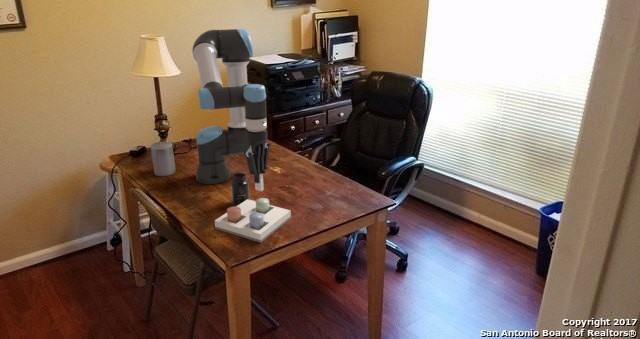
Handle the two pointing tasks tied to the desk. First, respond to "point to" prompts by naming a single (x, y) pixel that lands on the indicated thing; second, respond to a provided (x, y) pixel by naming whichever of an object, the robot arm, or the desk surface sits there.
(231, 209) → the terracotta button
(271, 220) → the console
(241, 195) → the supplement bottle
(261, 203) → the sage button
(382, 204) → the desk surface
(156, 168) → the pillar candle
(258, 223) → the slate button
